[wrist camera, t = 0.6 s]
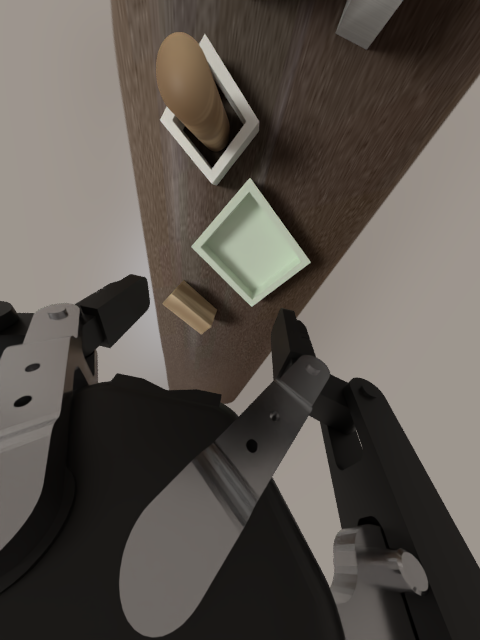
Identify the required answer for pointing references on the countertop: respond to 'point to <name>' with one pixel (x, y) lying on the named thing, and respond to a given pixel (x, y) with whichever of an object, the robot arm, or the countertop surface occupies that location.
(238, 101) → the socket block
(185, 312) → the rectangular wooden block
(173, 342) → the countertop surface
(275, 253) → the tray
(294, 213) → the countertop surface
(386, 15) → the white gable carton
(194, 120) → the dowel
